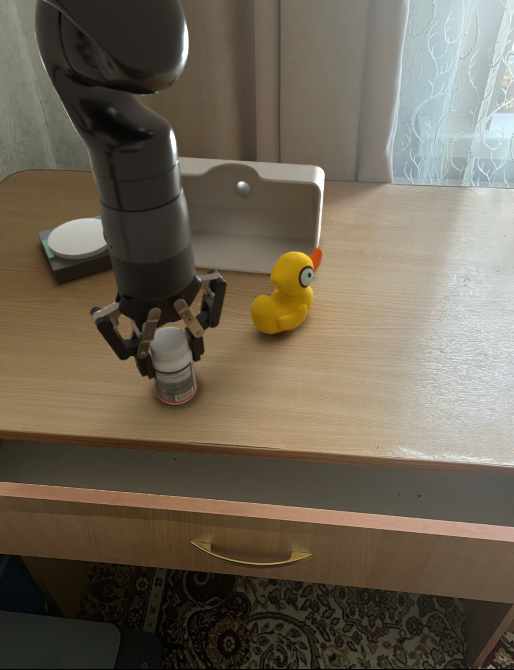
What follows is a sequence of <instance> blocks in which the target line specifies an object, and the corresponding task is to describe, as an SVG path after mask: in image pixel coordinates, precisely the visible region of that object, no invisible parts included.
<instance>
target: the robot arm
mask: <svg viewBox="0 0 514 670" xmlns="http://www.w3.org/2000/svg"><path fill="white" fill-rule="evenodd" d="M34 6H35V7H34V14H33V15H34V16H33V17H34V18H33V19H34V21H33V25H34V35H35V41H36V46H37V51H38V54H39V57H40V60H41V62H42V65H43V67H44V70H45V72H46V74H47V76H48V78H49V81H50V83H51V85H52V87H53V89H54V91H55V92H56V94H57V96H58V98H59V101H60V103H61V104H62V106H63V108H64V110H65V113H66V114H67V116H68V118H69V120H70V122H71V124H72V126H73V128H74V130H75V131H76V133H77V135H78V136H79V138H80V140H81V142H82V143H83V145H84V147H85V149H86V151H87V155H88V160H89V164H90V169H91V172H92V177H93V181H94V186H95V189H96V194H97V197H98V202H99V204H98V205H99V214H100V215H101V222H102V227H103V236H104V240H105V242H106V243H107V247H108V251H109V255H110V259H111V263H112V267H113V268H112V271H113V275H114V279H115V282H116V287H117V293H116V295H115V299H114V300H115V301H114V302H113V303H111V304H109V305H108V306H106V307H104V308H102V307H101V306H98V305H97V306H96V305H95V306H93V307H91V309H90V310H89V314H90V316H91V319H92V321H93V323H94V325H95V327H96V329H97V330H98V333H100V335H101V336H102V338H103V339H104V340H105V342H106V343H107V344H108V345H109V347H110V348H111V350H112V351H113V352H114V354H115V355H116V356H117V358H118V359H119V360H120V361H126V360H129V358H130V357H133V358H134V362H135V366H136V368H137V370H138V372H139V374H140V376H141V377H143V378H144V377H147V379H148V380H153V378H155V373H154V369H153V364H152V360H151V355H150V353H149V352H150V343H151V341H153V340H154V336H155V331H157V329H160V328H162V327H163V326H165V325H167V324H170V323H177V322H179V321H183V322H184V324H185V325H186V326H185V327H184V333H185V334H186V337H187V342H188V345H189V346H190V348H191V350H192V355H193V363H198V362H199V361H201V360H202V357H201V356H203V355H204V353H205V351H206V350H205V341H204V335H205V332H206V330H207V329H209V328H210V329H215V328H217V327H218V326H219V325H220V321H221V317H222V311H223V307H224V303H225V297H226V292H227V289H228V283H227V281H226V280H225V278H224V277H223V276H222V275H221V273H220V272H219V271H218V269H209V270H208V271H207V272H206V273H205V274H197V273H196V267H195V262H194V254H193V246H192V237H191V229H190V221H189V212H188V207H187V203H186V199H185V196H184V192H183V187H182V179H181V170H180V162H179V157H180V155H179V149H178V142H177V137H176V133H175V131H174V127H173V126H172V124H171V123H170V121H168V120H167V118H166V117H164V116H162V115H161V114H159V113H158V112H156V111H154V110H152V109H150V108H149V107H147V106H146V105H145V104H143V103H142V102H141V101H140V100H139V99H138V98H137V96H153V95H158V94H162V93H163V92H165V91H168V90H169V89H171V88H172V86H174V85H175V84H176V83H177V82H178V81H179V79H180V78H181V76H182V74H183V73H184V71H185V68H186V66H187V63H188V59H189V53H190V35H189V27H188V22H187V19H186V15H185V12H184V8H183V6H182V4H181V2H180V0H36V1H35V5H34ZM136 95H137V96H136ZM100 215H99V216H100ZM200 291H202V297H201V303H200V309H199V313H197V314H196V315H195V314H194V313H193V312H192V310H191V306H192V304H193V303H194V301H195V299H196V297H197V296H198V295H199V293H200ZM122 315H123V316H124V317H126V318H128V319H130V326H131V330H130V336H129V338H123V336H122V335H121V334H120V332H119V331H118V330H119V325H120V320H119V318H120V317H121V316H122Z"/></svg>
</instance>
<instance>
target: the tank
mask: <svg viewBox="0 0 514 670" xmlns="http://www.w3.org/2000/svg"><path fill="white" fill-rule="evenodd" d="M179 162H180V170H181V179H182V187H183V192H184V196H185V199H186V203H187V207H188V212H189V221H190V229H191V237H192V246H193V254H194V262H195V268H197V269H198V268H199V269H209V270H210V269H216V270H221V271H231V272H244V273H255V274H265V275H271V272H272V269H273V266H274V265H275V263H276V261H277V260H278V259H279V258H280V257H281V256H282V255H284V254H286V253H288V252H301V253H304V254H306V255H307V256H309V255H311V254H312V253H313V251H314V250H315V249H316V248H319V244H320V238H321V228H322V227H321V226H322V215H323V201H324V188H325V172H324V170H323V169H322V168H321V167H320V166H318V165H314V164H313V165H312V164H298V163H297V164H295V163H282V162H266V161H251V160H250V161H249V160H235V159H234V160H233V159H232V160H231V159H220V158H219V159H217V158H201V157H187V156H179Z"/></svg>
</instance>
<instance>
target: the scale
mask: <svg viewBox="0 0 514 670" xmlns="http://www.w3.org/2000/svg"><path fill="white" fill-rule="evenodd" d="M36 233H37V237H38V239H39V242H40V245H41V247H42V250H43V252H44V254H45V257H46V259H47V261H48V264H49V266H50V268H51V271H52V273H53V275H54V278H55V280H56V283H57V284H58V285H60V284H64V283H66V282H67V283H68V282H70V281H74V280H77V279H80V278H83V277H86V276H89V275H93V274H96V273H99V272H103V271H106V270H109V269H113V267H112V263H111V259H110V255H109V251H108V247H107V243H106V242H105V240H104V236H103V227H102V222H101V215H96V216H93V217H86V218H85V217H84V218H77V219H73V220H70V221H67V222H65V223H62V224H60V225H58V226H55V227H52V228H48V229H45V230H41V231H38V232H36Z"/></svg>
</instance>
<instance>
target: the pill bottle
mask: <svg viewBox="0 0 514 670" xmlns="http://www.w3.org/2000/svg"><path fill="white" fill-rule="evenodd" d="M149 353H150V355H151V360H152V364H153V369H154V373H155V378H152V381H153V384H154V388H155V389H154V390H155V394H156V396H157V397H158V399H159V400H160V401H161V402H163V403H165V404H167V405H172V406H173V405H174V406H178V405H182V404H185V403H187V402H188V401H190V400H191V399H192V398H193V397H194V396H195V394H196V392H197V388H198V383H197V378H196V377H197V376H196V371H195V364H194V363H195V362H194V361H193V355H192V350H191V348H190V346H189V345H188V342H187V337H186V334H185V331H184V330H183V329H182V328H178V327H175V326H165V327H160V328H158V329H156V331H155V336H154V340H153V341H151V343H150V348H149Z"/></svg>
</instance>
